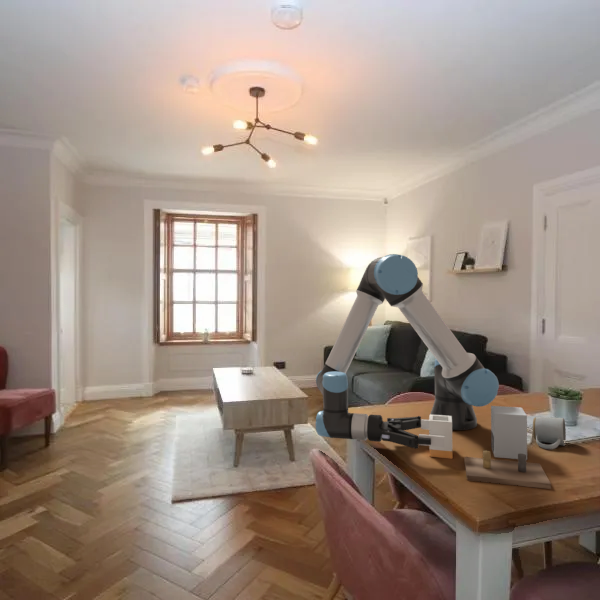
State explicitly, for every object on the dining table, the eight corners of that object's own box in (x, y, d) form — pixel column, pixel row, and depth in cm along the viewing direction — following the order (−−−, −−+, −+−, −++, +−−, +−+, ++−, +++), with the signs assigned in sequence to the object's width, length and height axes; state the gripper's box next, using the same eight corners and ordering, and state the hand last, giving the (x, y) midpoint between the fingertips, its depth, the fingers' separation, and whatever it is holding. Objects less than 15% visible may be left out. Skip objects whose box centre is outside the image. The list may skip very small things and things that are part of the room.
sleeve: (430, 448, 127) (429, 414, 126) (451, 450, 125) (451, 415, 125) (429, 456, 121) (429, 420, 121) (452, 458, 119) (452, 422, 119)
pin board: (464, 461, 117) (464, 441, 117) (539, 468, 112) (539, 448, 112) (467, 480, 106) (466, 458, 106) (550, 489, 100) (550, 466, 100)
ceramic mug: (535, 436, 135) (535, 411, 135) (566, 441, 131) (566, 415, 130) (530, 447, 127) (530, 421, 126) (563, 453, 122) (563, 425, 122)
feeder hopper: (490, 446, 127) (490, 405, 127) (521, 449, 125) (521, 407, 124) (494, 457, 120) (493, 413, 119) (527, 459, 117) (526, 415, 117)
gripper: (374, 426, 141) (444, 432, 134) (361, 455, 117) (444, 463, 111) (374, 403, 141) (443, 408, 134) (360, 427, 117) (444, 434, 110)
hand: (444, 433), depth 122 cm, fingers open, 13 cm apart
